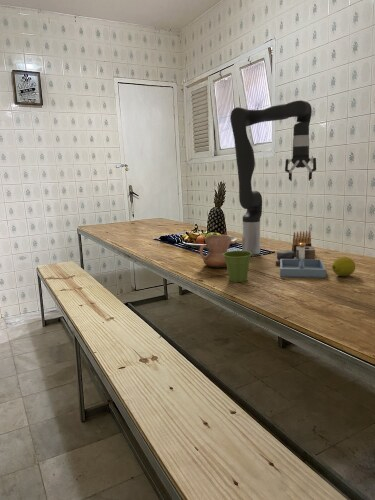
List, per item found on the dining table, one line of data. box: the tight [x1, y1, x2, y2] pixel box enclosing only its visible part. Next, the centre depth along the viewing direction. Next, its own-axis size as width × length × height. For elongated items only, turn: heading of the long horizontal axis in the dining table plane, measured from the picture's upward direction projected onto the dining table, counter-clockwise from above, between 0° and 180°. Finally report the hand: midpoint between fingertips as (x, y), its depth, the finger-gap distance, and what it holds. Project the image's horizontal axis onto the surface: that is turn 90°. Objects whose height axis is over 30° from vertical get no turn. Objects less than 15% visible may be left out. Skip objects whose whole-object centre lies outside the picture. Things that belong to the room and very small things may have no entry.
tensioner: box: [275, 246, 316, 266], centre depth 181 cm, size 18×12×7 cm, turn 77°
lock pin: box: [298, 243, 306, 269], centre depth 165 cm, size 3×3×12 cm
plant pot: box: [223, 250, 253, 283], centre depth 156 cm, size 12×12×11 cm
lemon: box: [331, 256, 356, 277], centre depth 156 cm, size 11×8×8 cm
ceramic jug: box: [199, 234, 236, 269], centre depth 181 cm, size 18×14×14 cm
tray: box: [279, 258, 327, 279], centre depth 166 cm, size 18×18×4 cm
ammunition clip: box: [291, 230, 312, 254], centre depth 199 cm, size 11×2×12 cm, turn 105°
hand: (300, 180), depth 183 cm, fingers open, 8 cm apart
